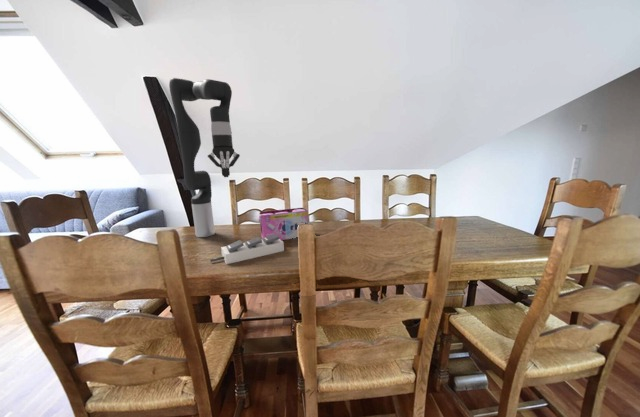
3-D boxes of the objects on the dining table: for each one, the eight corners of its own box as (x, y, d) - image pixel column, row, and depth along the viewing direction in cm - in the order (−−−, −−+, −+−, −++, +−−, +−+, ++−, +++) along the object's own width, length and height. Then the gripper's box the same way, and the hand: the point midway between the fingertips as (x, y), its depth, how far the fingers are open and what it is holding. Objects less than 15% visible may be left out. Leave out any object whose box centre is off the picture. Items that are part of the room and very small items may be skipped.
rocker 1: (226, 248, 102) (225, 246, 101) (241, 242, 104) (239, 239, 104) (229, 252, 98) (228, 249, 98) (243, 245, 101) (242, 242, 100)
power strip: (209, 259, 103) (207, 247, 102) (276, 244, 117) (275, 234, 116) (212, 267, 95) (211, 255, 94) (284, 250, 110) (283, 240, 109)
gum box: (261, 243, 119) (259, 215, 116) (258, 238, 127) (256, 211, 123) (309, 236, 128) (308, 210, 125) (304, 231, 135) (303, 207, 132)
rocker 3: (262, 240, 109) (262, 237, 109) (275, 236, 112) (274, 233, 112) (266, 243, 105) (265, 241, 105) (279, 239, 108) (278, 236, 108)
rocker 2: (245, 244, 106) (244, 241, 105) (258, 239, 108) (258, 236, 108) (248, 248, 102) (247, 245, 101) (262, 242, 104) (261, 239, 104)
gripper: (236, 135, 109) (239, 175, 113) (202, 134, 102) (207, 177, 106) (240, 134, 103) (244, 176, 107) (205, 133, 96) (210, 179, 100)
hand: (226, 177), depth 106 cm, fingers closed
